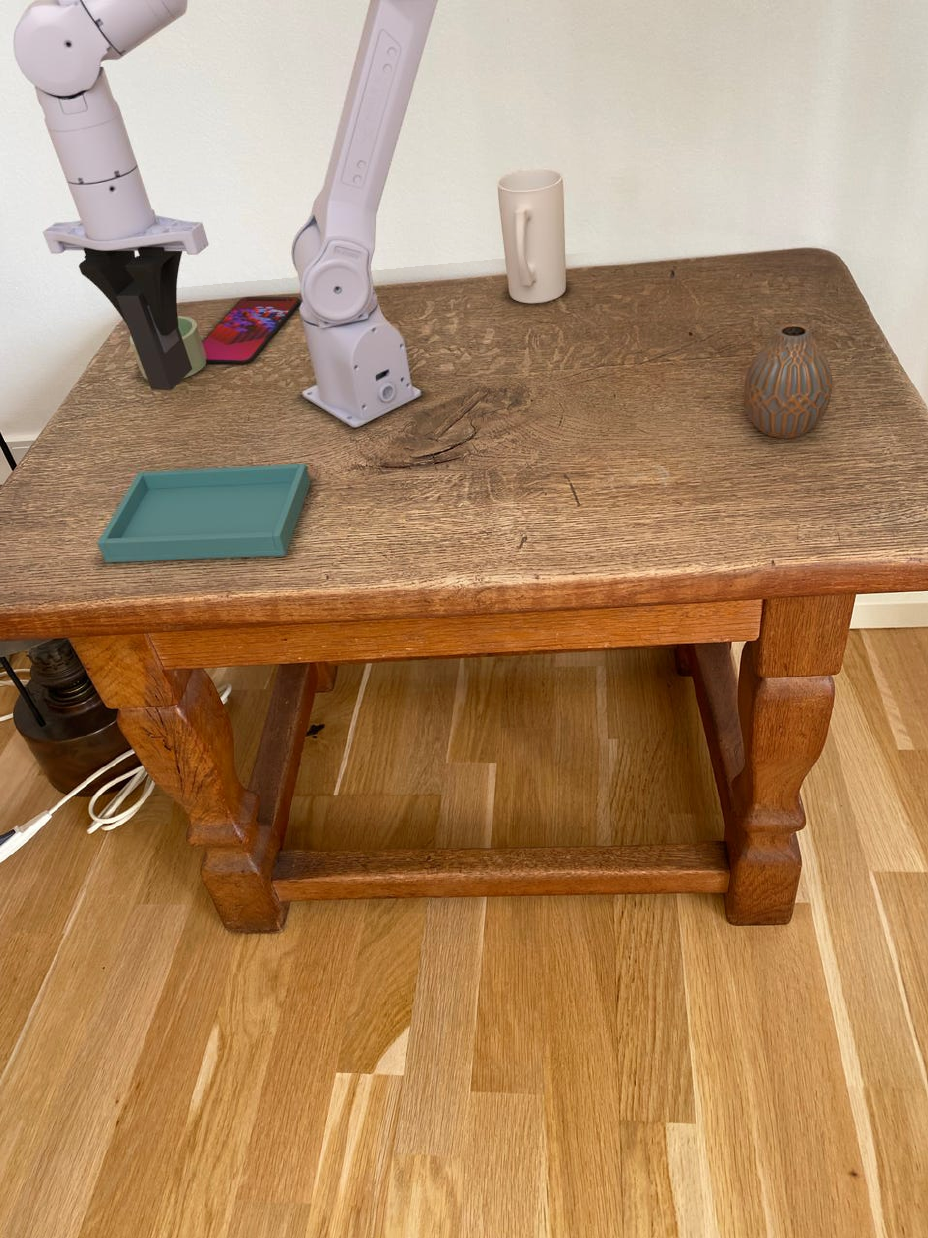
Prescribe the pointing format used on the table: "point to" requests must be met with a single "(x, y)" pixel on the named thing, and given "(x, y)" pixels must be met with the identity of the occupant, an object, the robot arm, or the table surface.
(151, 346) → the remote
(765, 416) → the vase
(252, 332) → the smartphone
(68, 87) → the robot arm
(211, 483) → the tray
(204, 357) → the cup
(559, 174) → the mug
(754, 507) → the table surface
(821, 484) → the table surface
